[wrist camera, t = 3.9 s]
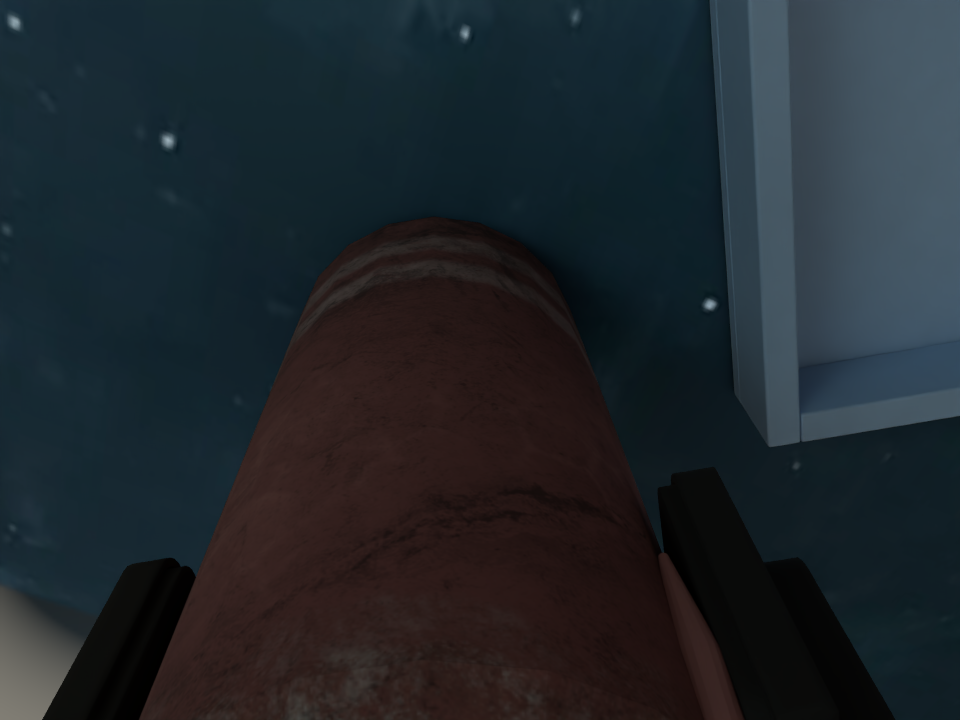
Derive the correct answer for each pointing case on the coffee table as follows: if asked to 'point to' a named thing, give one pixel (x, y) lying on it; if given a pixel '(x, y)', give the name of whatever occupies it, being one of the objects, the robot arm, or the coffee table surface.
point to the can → (438, 517)
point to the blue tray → (840, 211)
